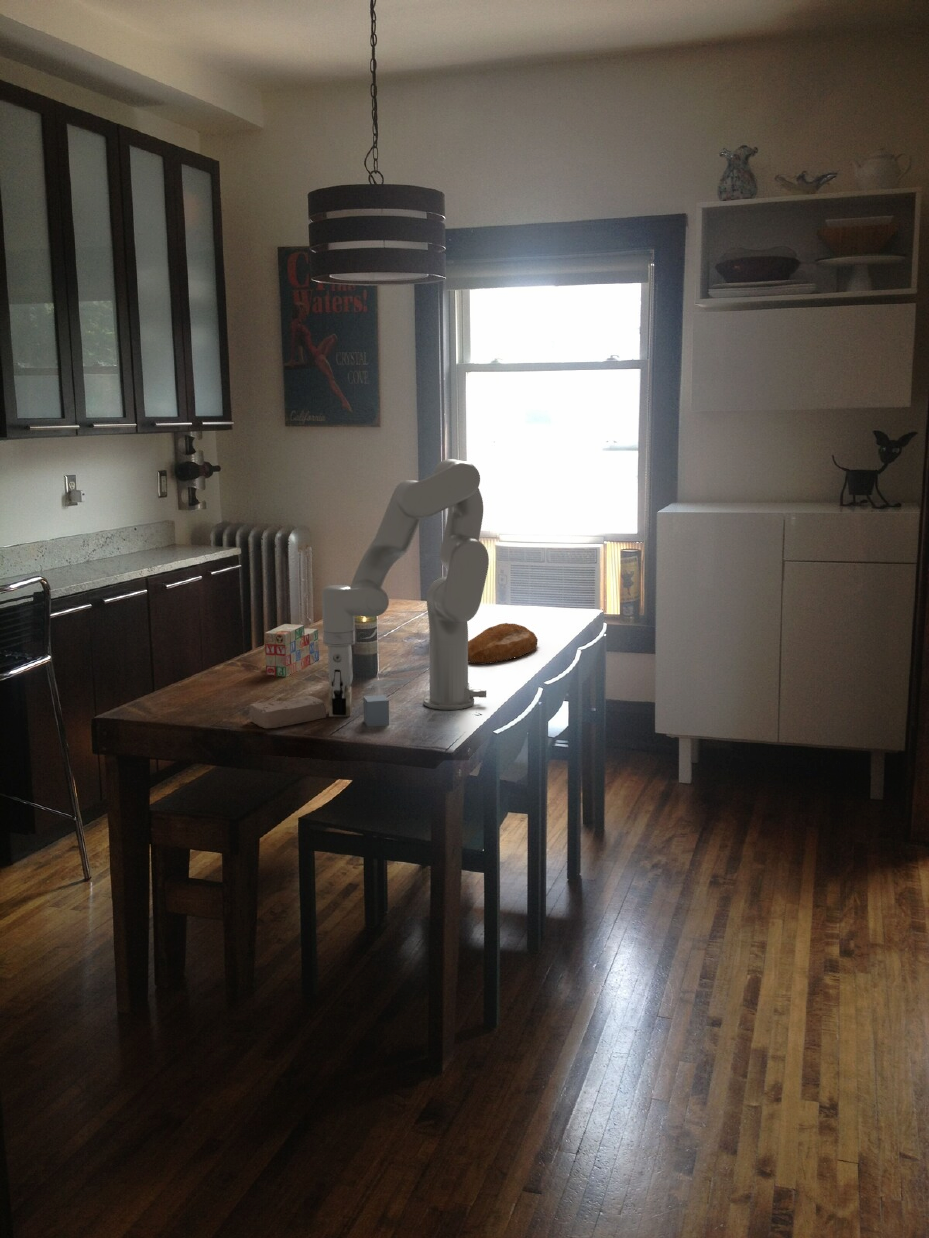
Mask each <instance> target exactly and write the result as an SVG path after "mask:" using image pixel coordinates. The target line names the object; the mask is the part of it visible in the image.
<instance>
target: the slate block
mask: <svg viewBox="0 0 929 1238" xmlns="http://www.w3.org/2000/svg"><path fill="white" fill-rule="evenodd" d="M362 700H363V722H364V723H365V725H366V726H367V728H370V727H381V726H389V725H390V701H389V698H387V696H386V695H385V694H377V695H363V698H362Z"/></svg>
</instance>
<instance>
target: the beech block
mask: <svg viewBox="0 0 929 1238" xmlns="http://www.w3.org/2000/svg"><path fill="white" fill-rule="evenodd" d="M340 690H342V688H340ZM352 693H353V691H352V686H349V687H345V698H346V715H333V714H332V698H333V687H331V686H330V688H329V691H328V717H351V715H352V711H353V703H352V701H353V700H352V697H353V696H352Z"/></svg>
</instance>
